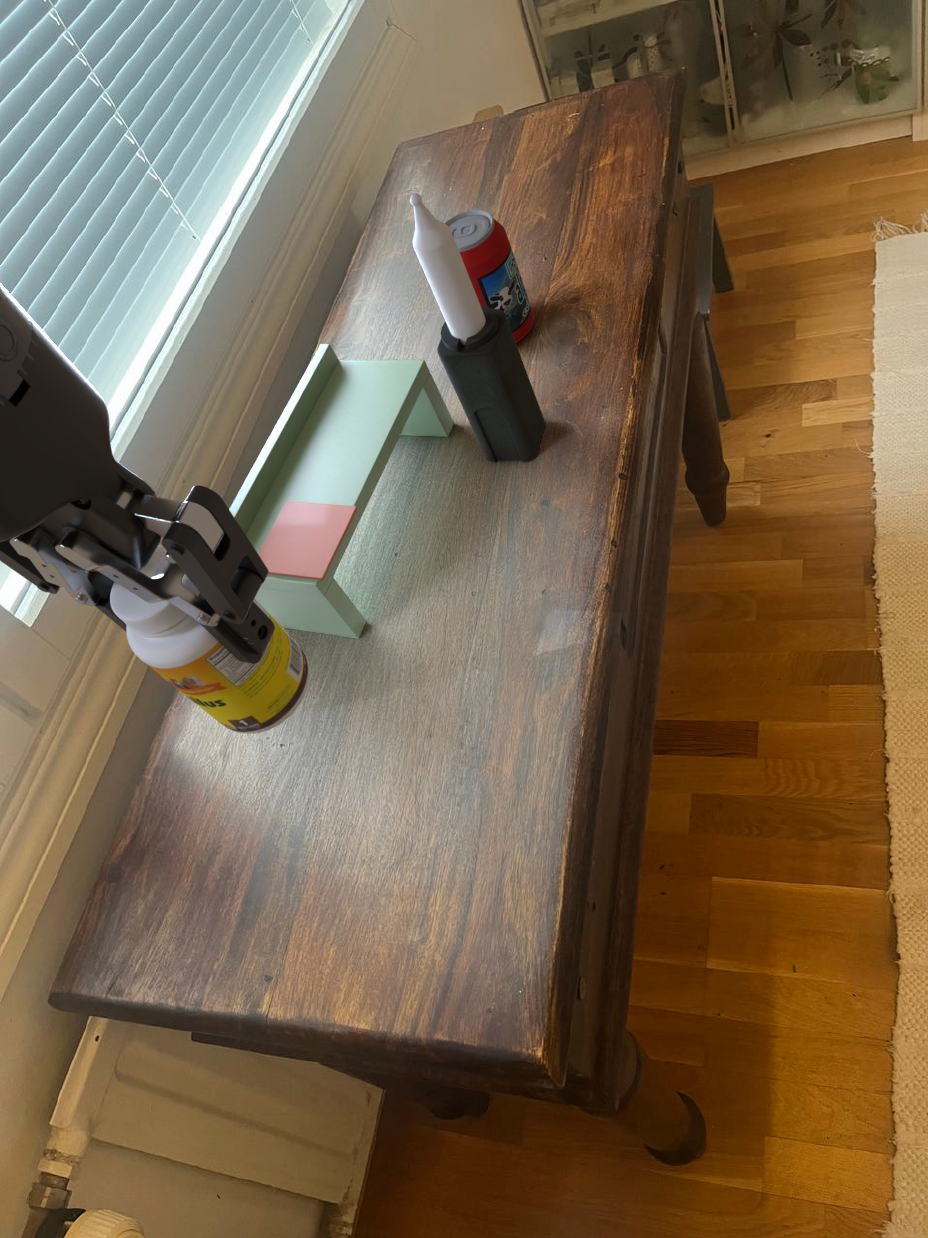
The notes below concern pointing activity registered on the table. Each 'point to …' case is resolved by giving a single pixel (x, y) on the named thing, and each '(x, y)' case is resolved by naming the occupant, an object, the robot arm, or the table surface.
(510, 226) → the table surface
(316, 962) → the table surface
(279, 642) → the supplement bottle
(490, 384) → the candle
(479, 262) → the beverage can
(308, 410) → the shelf
